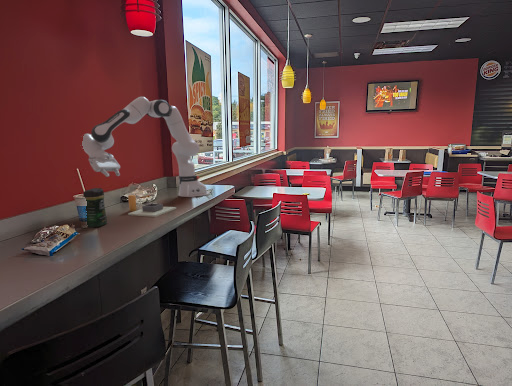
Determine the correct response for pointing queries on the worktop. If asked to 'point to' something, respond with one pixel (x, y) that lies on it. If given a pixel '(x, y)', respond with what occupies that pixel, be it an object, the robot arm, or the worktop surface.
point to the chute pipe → (132, 203)
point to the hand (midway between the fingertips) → (113, 175)
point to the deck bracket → (152, 210)
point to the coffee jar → (95, 207)
